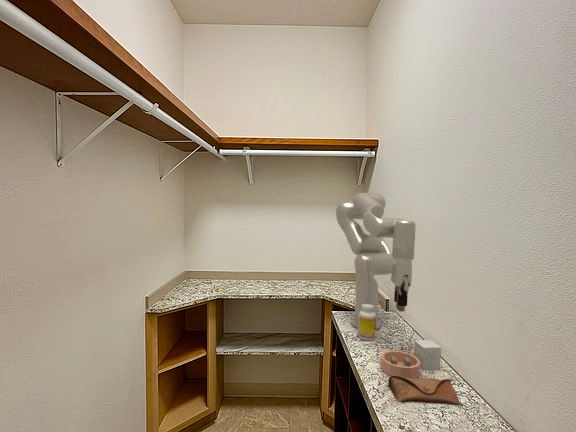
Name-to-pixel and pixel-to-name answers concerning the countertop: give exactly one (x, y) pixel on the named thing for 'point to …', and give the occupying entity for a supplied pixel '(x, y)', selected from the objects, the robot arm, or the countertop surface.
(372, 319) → the supplement bottle
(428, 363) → the product box
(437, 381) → the sunglasses case
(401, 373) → the terracotta shallow dish
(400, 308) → the wooden plank
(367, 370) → the countertop surface
